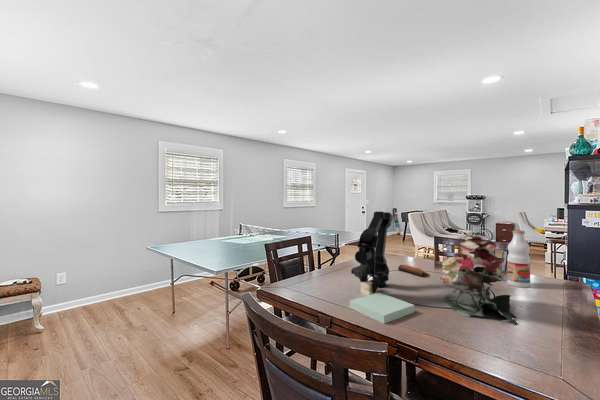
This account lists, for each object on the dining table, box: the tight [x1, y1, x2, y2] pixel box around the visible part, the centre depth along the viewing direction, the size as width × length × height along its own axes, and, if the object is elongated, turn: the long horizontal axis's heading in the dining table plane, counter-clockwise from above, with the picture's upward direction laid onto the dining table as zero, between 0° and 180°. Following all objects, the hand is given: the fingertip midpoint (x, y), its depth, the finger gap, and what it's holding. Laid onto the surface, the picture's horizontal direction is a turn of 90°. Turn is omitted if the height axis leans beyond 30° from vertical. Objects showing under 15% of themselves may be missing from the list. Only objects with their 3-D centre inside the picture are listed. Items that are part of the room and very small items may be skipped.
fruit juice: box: [506, 229, 531, 289], centre depth 147 cm, size 9×9×28 cm
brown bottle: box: [397, 264, 431, 278], centre depth 172 cm, size 18×7×7 cm
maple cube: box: [360, 279, 379, 296], centre depth 136 cm, size 6×6×6 cm
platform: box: [349, 292, 415, 324], centre depth 117 cm, size 18×18×3 cm
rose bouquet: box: [439, 235, 518, 326], centre depth 118 cm, size 26×29×30 cm
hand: (369, 291), depth 136 cm, fingers closed on maple cube, 5 cm apart
